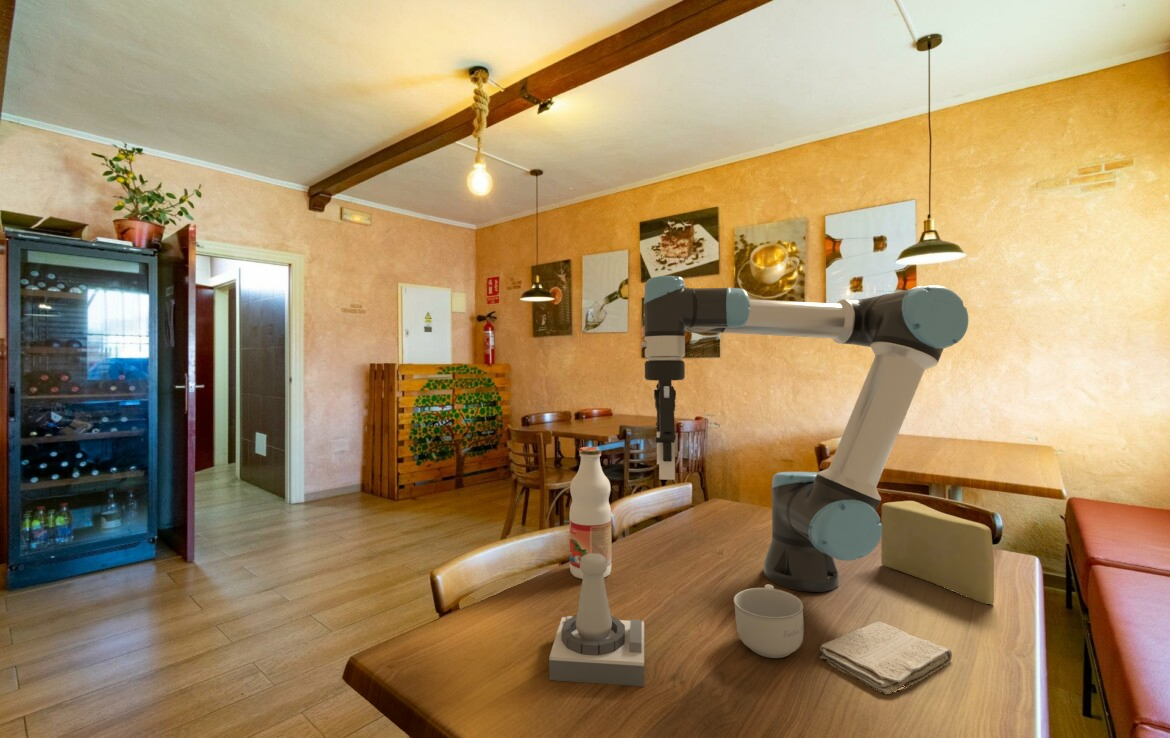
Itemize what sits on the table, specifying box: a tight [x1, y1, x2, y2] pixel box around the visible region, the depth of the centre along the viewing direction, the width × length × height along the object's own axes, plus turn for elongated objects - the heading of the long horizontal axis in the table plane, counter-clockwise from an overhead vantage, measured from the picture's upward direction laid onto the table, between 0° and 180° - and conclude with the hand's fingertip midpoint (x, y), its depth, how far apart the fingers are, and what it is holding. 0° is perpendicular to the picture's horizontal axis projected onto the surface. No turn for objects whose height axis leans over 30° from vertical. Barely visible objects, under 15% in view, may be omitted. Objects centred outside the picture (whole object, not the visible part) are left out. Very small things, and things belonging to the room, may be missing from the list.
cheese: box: [880, 500, 995, 605], centre depth 110 cm, size 22×10×15 cm, turn 15°
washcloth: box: [819, 621, 953, 695], centre depth 82 cm, size 12×18×3 cm, turn 121°
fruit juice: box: [569, 446, 612, 580], centre depth 116 cm, size 9×9×28 cm
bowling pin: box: [576, 553, 612, 641], centre depth 82 cm, size 6×6×13 cm
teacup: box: [733, 584, 804, 659], centre depth 86 cm, size 14×11×8 cm
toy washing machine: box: [548, 614, 645, 687], centre depth 82 cm, size 14×12×5 cm
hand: (665, 471), depth 98 cm, fingers open, 13 cm apart
